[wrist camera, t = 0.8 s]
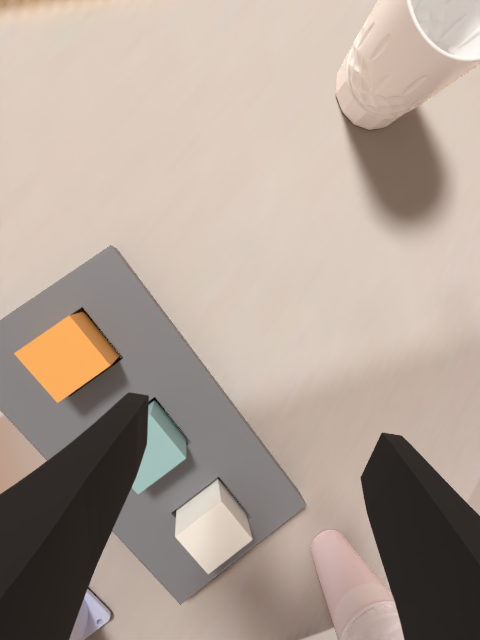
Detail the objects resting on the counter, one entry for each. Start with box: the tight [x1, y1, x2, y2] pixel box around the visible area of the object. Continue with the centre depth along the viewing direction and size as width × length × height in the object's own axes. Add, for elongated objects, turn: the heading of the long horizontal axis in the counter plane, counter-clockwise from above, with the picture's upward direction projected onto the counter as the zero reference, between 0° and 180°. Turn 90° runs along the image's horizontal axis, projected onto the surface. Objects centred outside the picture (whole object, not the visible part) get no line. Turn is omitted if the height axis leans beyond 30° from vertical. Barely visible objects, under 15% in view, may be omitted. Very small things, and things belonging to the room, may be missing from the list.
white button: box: [175, 478, 253, 574], centre depth 27 cm, size 4×4×3 cm
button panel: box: [0, 245, 306, 605], centre depth 27 cm, size 14×28×2 cm, turn 35°
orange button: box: [14, 312, 119, 403], centre depth 24 cm, size 4×4×3 cm
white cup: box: [336, 0, 480, 130], centre depth 23 cm, size 8×8×10 cm
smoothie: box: [311, 530, 404, 640], centre depth 26 cm, size 6×6×14 cm
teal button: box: [132, 400, 186, 494], centre depth 25 cm, size 4×4×3 cm
